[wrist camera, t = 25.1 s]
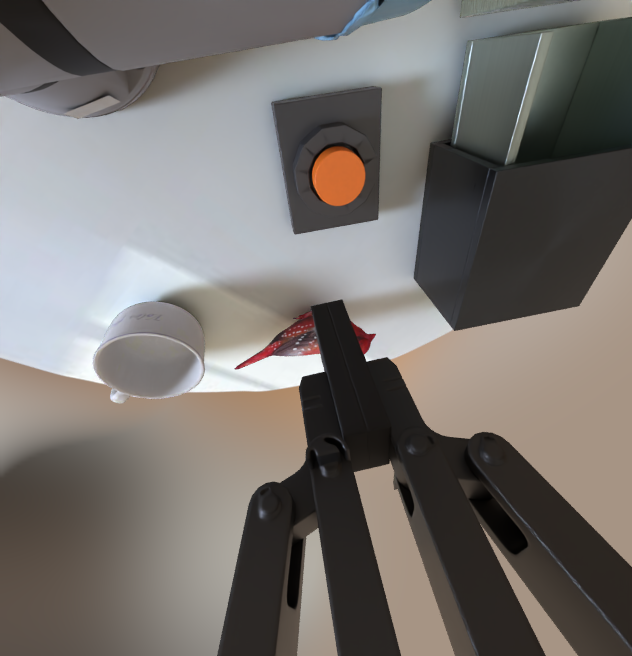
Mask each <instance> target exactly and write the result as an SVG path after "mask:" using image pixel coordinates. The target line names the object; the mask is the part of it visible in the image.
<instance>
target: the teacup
mask: <svg viewBox="0 0 632 656" xmlns="http://www.w3.org/2000/svg"><path fill="white" fill-rule="evenodd" d="M204 352H205V339H204V333H203V330H202V327H201V326H200V324H199V322H198V321H197V320H196V319H195V317H194V316H192V315H191V314H190V313H189V312H187V311H186V310H184V309H182V308H180V307H178V306H175V305H172V304H169V303H164V302H144V303H139V304H135V305H133V306H130V307H128V308H126V309H125V310H123V311H122V312H121V313H119V314H118V315H117V316H116V317H115V319H114V320H113V321H112V323H111V324H110V326H109V328H108V330H107V332H106V334H105V336H104V338H103V340H102V342H101V345H100V347H99V348H98V349H97V351H96V352H95V354H94V358H93V368H94V370H95V373H96V374H97V376H98V377H99V379H101V380H102V381H103V382H104V383H105V384H106V385H108V386H109V387H111V388H113V389H112V391H111V395H110V398H111V400H112V401H113V402H117V403H124V402H125V401H126V400H127V399H128V398H129V397H130V396H134V397H140V398H148V399H160V398H161V399H162V398H169V397H173V396H177V395H181V394H183V393H186V392H188V391H190V390H191V389H193V388H194V387H195V386H197V385H198V384H199V382H200V381H201V380H202V378H203V375H204V372H205V367H204Z"/></svg>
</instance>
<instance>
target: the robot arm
mask: <svg viewBox="0 0 632 656" xmlns="http://www.w3.org/2000/svg"><path fill="white" fill-rule="evenodd" d="M430 1H431V0H0V97H1V96H6V97H8V98H10V99H13V100H15V101H17V102H19V103H22V104H24V105H26V106H29V107H31V108H34V109H37V110H40V111H43V112H47V113H51V114H56V115H61V116H69V117H75V118H77V119H79V118H88V117H98V116H102V115H107V114H110V113H113V112H116V111H118V110H121V109H123V108H125V107H127V106H129V105H130V104H131V103H133V102H134V101H136V100H137V99H138V98H139V97H140V96H141V95H142V94H143V93H144V92H145V90H146V89H147V88H148V86H149V85H150V83H151V81H152V80H153V78H154V76H155V74H156V71H157V69H158V66H159V64H165V63H171V62H176V61H182V60H188V59H194V58H200V57H205V56H211V55H217V54H223V53H228V52H234V51H240V50H246V49H251V48H257V47H263V46H269V45H274V44H280V43H286V42H292V41H298V40H303V39H309V38H315V39H318V40H336V39H338V37H339V36H347V35H349V34H350V33H352V32H353V31H355V30H356V29H358V28H359V27H361V26H363V25H367V24H371V23H375V22H379V21H383V20H387V19H391V18H395V17H399V16H403V15H406V14H408V13H411V12H413V11H415V10H417V9H419V8H420V7H422V6H424V5H425V4H427V3H428V2H430ZM311 311H312V316H313V321H314V326H315V331H316V336H317V341H318V346H319V350H320V354H321V359H322V363H323V367H324V371H325V372H322V373H317V374H313V375H308V376H304V377H302V380H301V383H300V386H299V392H300V399H301V405H302V411H303V418H304V424H305V431H306V438H307V445H308V447H307V449H306V461H305V463H304V465H303V466H302V467H301V469H300V470H298V471H297V472H296V473H295V474H293V475H292V476H290V477H288V478H287V479H285V480H284V481H282V482H281V483H277V482H270V483H265V484H264V485H262V486H261V487H259V488H258V489H257V490H256V491H255V493H254V494H253V495H252V498H251V500H250V503H249V506H248V511H247V516H246V520H245V525H244V530H243V535H242V540H241V544H240V549H239V554H238V559H237V564H236V569H235V574H234V578H233V583H232V588H231V592H230V597H229V602H228V607H227V611H226V616H225V621H224V626H223V631H222V635H221V640H220V645H219V650H218V655H217V656H297V646H298V634H299V622H300V621H299V620H300V609H301V596H302V584H303V570H304V557H305V545H306V536H307V535H309V534H310V533H312V532H313V531H314V530H316V529H317V528H319V534H320V540H321V547H322V554H323V561H324V567H325V574H326V580H327V587H328V593H329V600H330V607H331V613H332V620H333V626H334V633H335V640H336V647H337V653H338V656H401V654H400V650H399V646H398V642H397V638H396V634H395V630H394V627H393V623H392V619H391V615H390V611H389V607H388V603H387V599H386V595H385V591H384V588H383V584H382V580H381V576H380V572H379V569H378V564H377V560H376V557H375V553H374V549H373V545H372V541H371V537H370V533H369V529H368V526H367V522H366V518H365V514H364V510H363V506H362V503H361V499H360V494H359V491H358V487H357V483H356V479H355V475H354V472H356V471H360V470H365V469H369V468H373V467H378V466H382V465H386V464H389V462H390V461H391V464H392V466H393V469H394V481H393V484H394V490H395V489H398V491H399V494H400V497H401V500H402V503H403V506H404V509H405V512H406V515H407V517H408V520H409V523H410V526H411V529H412V532H413V535H414V538H415V541H416V544H417V546H418V549H419V552H420V555H421V558H422V561H423V564H424V567H425V570H426V573H427V575H428V578H429V581H430V584H431V587H432V590H433V593H434V596H435V599H436V602H437V604H438V607H439V610H440V613H441V616H442V619H443V622H444V624H445V628H446V631H447V633H448V636H449V639H450V642H451V645H452V648H453V651H454V654H455V656H546V655H545V653H544V651H543V649H542V648H541V646H540V643H539V641H538V640H537V637H536V635H535V633H534V631H533V629H532V628H531V625H530V623H529V621H528V619H527V617H526V615H525V613H524V611H523V609H522V607H521V605H520V603H519V601H518V599H517V597H516V595H515V593H514V591H513V589H512V587H511V585H510V583H509V581H508V579H507V577H506V575H505V573H504V571H503V569H502V567H501V565H500V563H499V561H498V559H497V557H496V555H495V553H494V551H493V549H492V547H491V545H490V543H489V541H488V539H487V537H486V535H485V533H484V531H483V529H482V527H483V528H484V529H485V531H486V532H487V533H488V535H489V536H490V537H491V539H492V540H493V541H494V543H495V544H496V545H497V547H498V548H499V550H500V551H501V552H502V554H503V555H504V556H505V558H506V559H507V560H508V562H509V563H510V564H511V566H512V567H513V568H514V570H515V571H516V572H517V574H518V575H519V577H520V578H521V579H522V581H523V582H524V583H525V585H526V586H527V587H528V589H529V590H530V591H531V593H532V594H533V595H534V597H535V598H536V599H537V601H538V602H539V603H540V605H541V606H542V607H543V609H544V610H545V612H546V613H547V614H548V616H549V617H550V618H551V619H552V621H553V622H554V624H555V625H556V626H557V628H558V629H559V630H560V632H561V633H562V634H563V636H564V637H565V639H566V640H567V641H568V643H569V644H570V645H571V646H572V648H573V649H574V651H575V652H576V653H577V655H578V656H632V567H631V566H630V565H629V564H628V563H627V562H626V561H625V560H624V559H623V558H622V557H621V556H620V555H619V554H618V553H617V552H616V551H615V550H614V549H613V548H612V547H611V546H610V545H609V544H608V543H607V542H606V541H605V540H604V538H603V537H602V536H601V535H600V534H599V533H598V532H597V531H595V529H594V528H593V527H592V526H591V525H590V524H589V523H588V522H587V521H586V520H585V519H584V518H583V517H582V516H581V515H580V514H579V513H578V512H577V511H576V510H575V509H574V508H573V507H572V506H571V505H570V504H569V503H568V502H567V501H566V500H565V499H564V498H563V497H562V496H561V495H560V494H559V493H558V492H557V491H556V490H555V489H554V488H553V487H552V486H551V485H550V484H549V483H548V482H547V481H546V480H545V479H544V478H543V477H542V476H541V475H540V474H539V473H538V472H537V471H536V470H535V469H534V468H533V467H532V466H531V465H530V464H529V463H528V462H527V461H526V460H525V459H524V458H523V456H522V455H520V453H518V451H517V450H516V449H515V448H514V447H513V446H512V445H511V444H510V443H509V442H507V441H506V440H505V439H503V438H502V437H501V436H498V435H496V434H493V433H488V432H481V433H477V434H475V435H474V436H473V437H471V439H465V438H454V437H446V436H442V435H440V434H438V433H436V432H434V431H432V430H431V429H430V428H429V427H428V426H427V425H426V424H425V423H424V421H423V419H422V418H421V416H420V413H419V411H418V409H417V407H416V405H415V403H414V401H413V399H412V397H411V395H410V393H409V391H408V388H407V387H406V384H405V382H404V380H403V379H402V376H401V374H400V372H399V370H398V368H397V366H396V365H395V364H394V363H393V362H392V361H391V360H389V359H388V358H387V357H386V358H381V359H377V360H372V361H368V362H366V359H365V357H364V354H363V352H362V349H361V346H360V344H359V341H358V339H357V336H356V334H355V331H354V329H353V326H352V323H351V321H350V318H349V316H348V313H347V311H346V308H345V306H344V303H343V300H338V301H333V302H328V303H324V304H319V305H315V306H311ZM480 524H481V525H482V527H481V525H480Z"/></svg>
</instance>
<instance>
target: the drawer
mask: <svg viewBox="0 0 632 656" xmlns="http://www.w3.org/2000/svg"><path fill="white" fill-rule="evenodd" d="M572 1H579V0H462V4H461V11H460V18H463V17H469V16H476V15H483V14H490V13H497V12H504V11H510V10H517V9H524V8H531V7H538V6H545V5H551V4H558V3H565V2H572ZM629 144H632V17H628V18H620V19H612V20H604V21H597V22H591V23H584V24H577V25H571V26H564V27H557V28H551V29H544V30H537V31H531V32H524V33H518V34H511V35H504V36H498V37H491V38H484V39H478V40H471V41H468V42H467V47H466V53H465V59H464V65H463V72H462V78H461V84H460V90H459V96H458V102H457V108H456V114H455V120H454V126H453V132H452V138H451V145H450V146H451V147H453V148H456V149H458V150H461V151H463V152H466V153H468V154H471V155H473V156H476V157H478V158H481V159H483V160H486V161H488V162H491V163H493V164H496V165H498V166H500V167H502V166H508V165H513V164H519V163H525V162H531V161H536V160H542V159H548V158H554V157H560V156H565V155H571V154H577V153H583V152H589V151H594V150H600V149H606V148H612V147H617V146H623V145H629Z"/></svg>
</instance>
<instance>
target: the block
mask: <svg viewBox="0 0 632 656" xmlns="http://www.w3.org/2000/svg"><path fill="white" fill-rule="evenodd" d="M381 98H382V88H380V87H374V86H372V87H366V88H359V89H353V90H347V91H340V92H334V93H327V94H321V95H314V96H308V97H302V98H295V99H289V100H282V101H276V102H272V103H271V104H272V109H273V115H274V121H275V127H276V133H277V139H278V145H279V151H280V157H281V163H282V169H283V175H284V181H285V186H286V192H287V198H288V204H289V210H290V216H291V222H292V227H293V231H294V234H300V233H306V232H311V231H317V230H323V229H328V228H334V227H339V226H345V225H351V224H356V223H362V222H367V221H373V220H378V205H379V169H380V134H381ZM334 146H342V147H346V148H348V149H350V150H351V151H352V152H353V153H355V154H356V155H357V156H358V157H359V158H360V159H361V161H362V163H363V165H364V168H365V183H364V186H363V189H362V191H361V192H360V194H359V195H358V196H357V198H356V199H354V200H353V201H352V202H350V203H348V204H346V205H342V206H333V205H330V204H327V203H326V202H324V201H323V200H322V199H321V198H320V196H319V195H318V193H317V191H316V189H315V187H314V185H313V181H312V169H313V166H314V163H315V161H316V159H317V158H318V156H319V155H320V154H321V153H322V152H323V151H325V150H326V149H328V148H331V147H334Z"/></svg>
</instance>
